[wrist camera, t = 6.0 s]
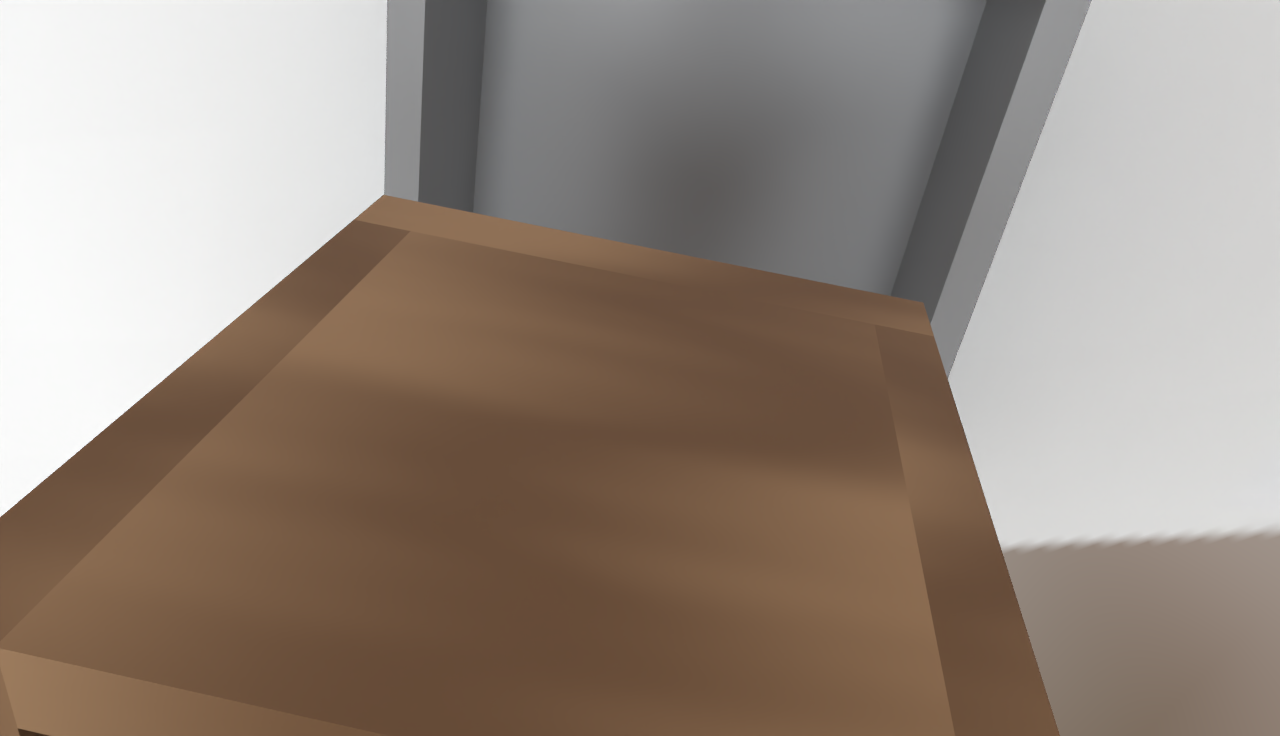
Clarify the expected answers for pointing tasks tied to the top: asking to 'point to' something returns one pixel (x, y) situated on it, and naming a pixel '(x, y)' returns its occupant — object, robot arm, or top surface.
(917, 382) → the crate small
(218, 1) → the top surface
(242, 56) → the top surface
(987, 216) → the crate large
